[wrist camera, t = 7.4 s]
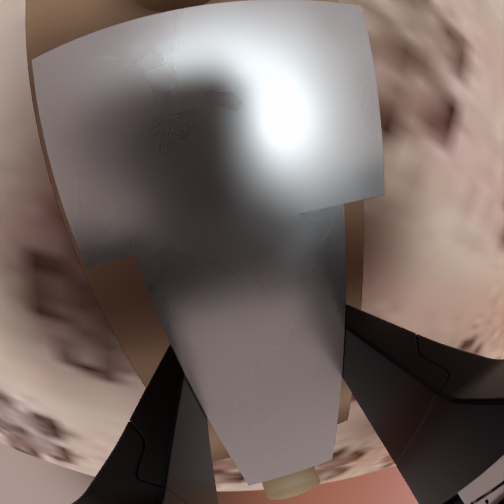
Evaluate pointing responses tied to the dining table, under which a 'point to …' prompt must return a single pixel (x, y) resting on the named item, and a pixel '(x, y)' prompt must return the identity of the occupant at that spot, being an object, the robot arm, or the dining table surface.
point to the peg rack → (126, 269)
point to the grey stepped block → (228, 198)
